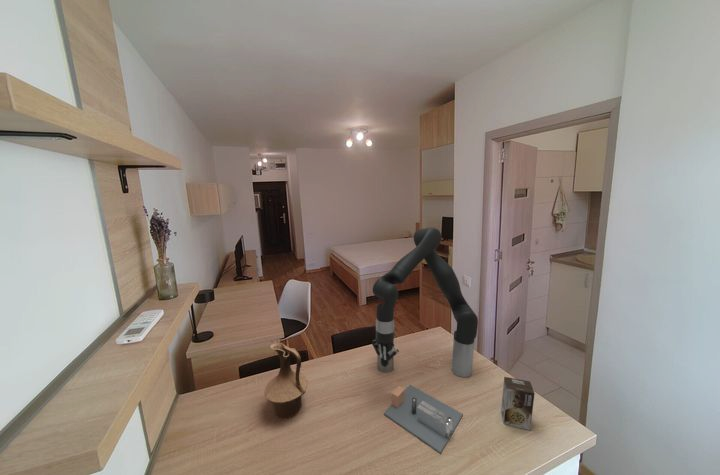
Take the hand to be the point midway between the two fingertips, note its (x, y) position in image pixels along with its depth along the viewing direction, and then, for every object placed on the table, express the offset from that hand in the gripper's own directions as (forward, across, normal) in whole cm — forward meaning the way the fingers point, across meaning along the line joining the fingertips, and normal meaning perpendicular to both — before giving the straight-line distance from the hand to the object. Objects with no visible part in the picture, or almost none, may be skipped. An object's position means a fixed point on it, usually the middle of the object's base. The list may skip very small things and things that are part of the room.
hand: (384, 365), depth 112 cm
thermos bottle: (+15, -10, +15) cm, 24 cm away
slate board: (+15, +18, +2) cm, 23 cm away
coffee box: (+15, +46, +23) cm, 53 cm away
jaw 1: (+14, +23, +1) cm, 27 cm away
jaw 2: (+14, +23, -1) cm, 27 cm away
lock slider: (+14, +7, 0) cm, 16 cm away
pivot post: (+15, +14, 0) cm, 21 cm away
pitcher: (+15, -26, -31) cm, 44 cm away
